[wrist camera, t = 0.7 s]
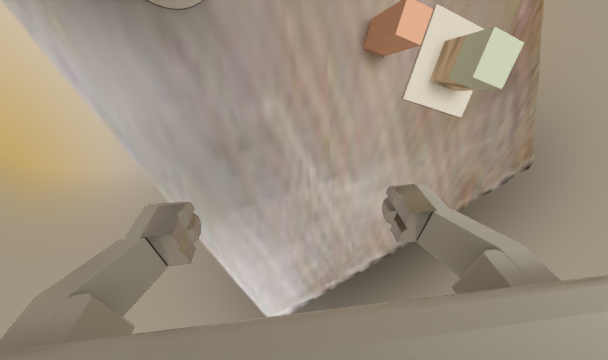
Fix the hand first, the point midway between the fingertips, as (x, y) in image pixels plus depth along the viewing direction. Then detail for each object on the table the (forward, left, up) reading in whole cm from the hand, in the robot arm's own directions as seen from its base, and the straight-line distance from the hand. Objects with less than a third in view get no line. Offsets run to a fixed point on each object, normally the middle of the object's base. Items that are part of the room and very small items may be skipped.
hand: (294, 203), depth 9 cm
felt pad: (-5, +44, -36) cm, 57 cm away
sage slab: (-5, +44, -31) cm, 54 cm away
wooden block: (-5, +44, -36) cm, 57 cm away
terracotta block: (-12, +27, -36) cm, 46 cm away
